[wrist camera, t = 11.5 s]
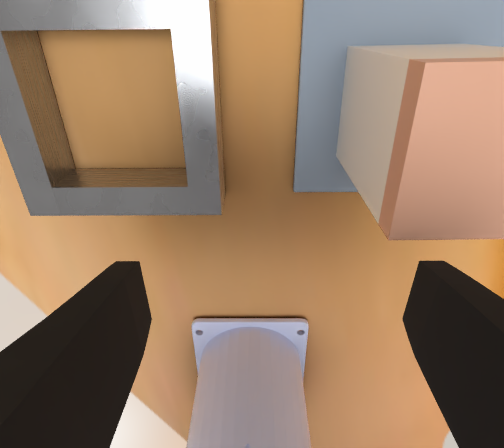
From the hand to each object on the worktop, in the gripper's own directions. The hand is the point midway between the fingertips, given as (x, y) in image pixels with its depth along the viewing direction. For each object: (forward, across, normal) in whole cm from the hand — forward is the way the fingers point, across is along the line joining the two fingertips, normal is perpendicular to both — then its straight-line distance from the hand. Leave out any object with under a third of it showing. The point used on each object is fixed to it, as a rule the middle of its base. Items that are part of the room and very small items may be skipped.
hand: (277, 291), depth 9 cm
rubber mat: (+10, -6, -3) cm, 12 cm away
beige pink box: (+10, -6, -3) cm, 12 cm away
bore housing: (+10, +7, -3) cm, 13 cm away
